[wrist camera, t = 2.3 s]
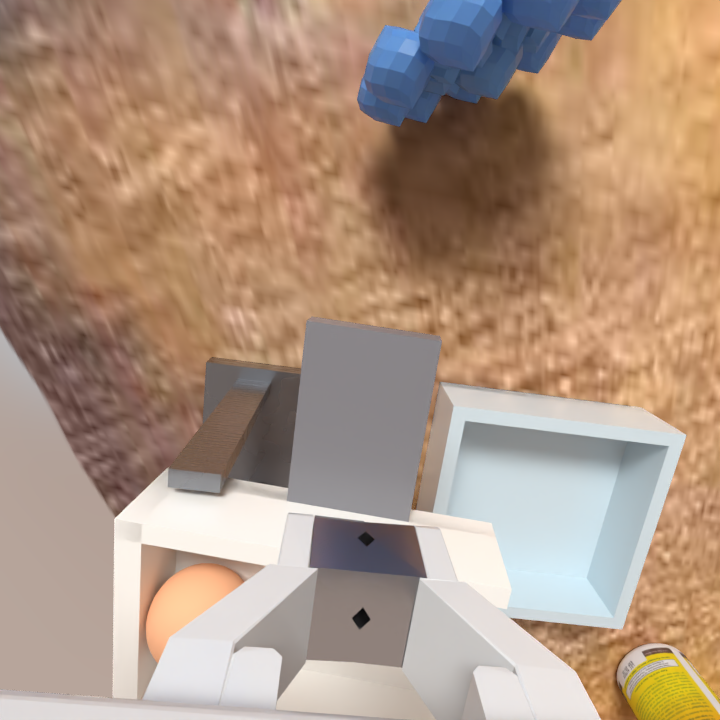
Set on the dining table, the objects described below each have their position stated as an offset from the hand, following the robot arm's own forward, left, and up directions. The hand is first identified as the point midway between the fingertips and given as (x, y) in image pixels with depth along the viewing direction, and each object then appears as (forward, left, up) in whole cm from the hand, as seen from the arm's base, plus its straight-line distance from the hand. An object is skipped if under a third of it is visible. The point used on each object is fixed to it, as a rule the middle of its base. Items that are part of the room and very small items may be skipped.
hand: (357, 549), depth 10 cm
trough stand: (+6, +9, -22) cm, 24 cm away
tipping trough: (+1, +6, -10) cm, 12 cm away
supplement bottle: (-26, +23, -22) cm, 41 cm away
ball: (+5, +9, -8) cm, 13 cm away
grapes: (-3, -16, -22) cm, 27 cm away
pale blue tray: (-13, +9, -22) cm, 27 cm away
